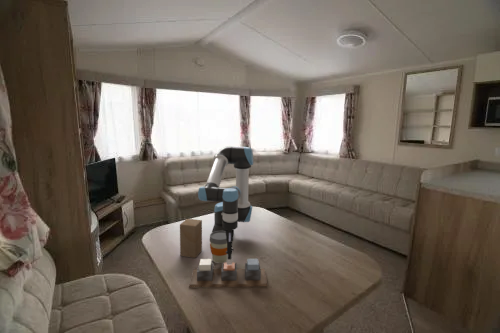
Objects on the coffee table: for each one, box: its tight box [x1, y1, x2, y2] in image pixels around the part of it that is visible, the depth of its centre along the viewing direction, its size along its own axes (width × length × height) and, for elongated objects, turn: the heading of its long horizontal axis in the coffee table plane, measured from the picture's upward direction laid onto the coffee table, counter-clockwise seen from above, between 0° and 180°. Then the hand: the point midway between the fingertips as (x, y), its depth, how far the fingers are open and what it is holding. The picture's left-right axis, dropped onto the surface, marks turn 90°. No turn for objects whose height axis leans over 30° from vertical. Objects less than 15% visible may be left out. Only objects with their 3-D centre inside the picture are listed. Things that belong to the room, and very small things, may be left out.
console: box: [189, 262, 268, 288], centre depth 128 cm, size 38×13×6 cm, turn 94°
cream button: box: [198, 258, 213, 271], centre depth 127 cm, size 6×6×5 cm
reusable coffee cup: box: [209, 231, 227, 264], centre depth 146 cm, size 13×13×15 cm
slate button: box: [246, 258, 260, 270], centre depth 128 cm, size 6×6×5 cm
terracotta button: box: [224, 261, 236, 271], centre depth 128 cm, size 6×6×5 cm
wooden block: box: [179, 218, 203, 259], centre depth 151 cm, size 10×10×20 cm
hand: (229, 263), depth 128 cm, fingers closed
